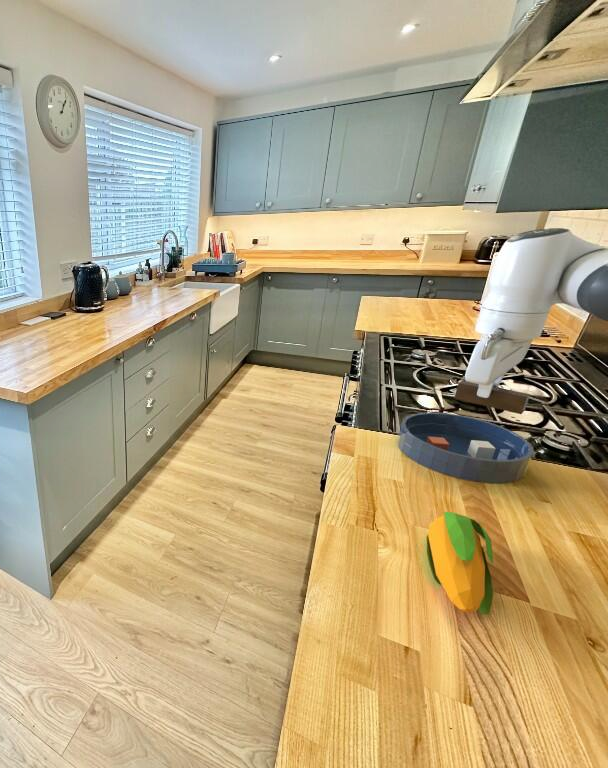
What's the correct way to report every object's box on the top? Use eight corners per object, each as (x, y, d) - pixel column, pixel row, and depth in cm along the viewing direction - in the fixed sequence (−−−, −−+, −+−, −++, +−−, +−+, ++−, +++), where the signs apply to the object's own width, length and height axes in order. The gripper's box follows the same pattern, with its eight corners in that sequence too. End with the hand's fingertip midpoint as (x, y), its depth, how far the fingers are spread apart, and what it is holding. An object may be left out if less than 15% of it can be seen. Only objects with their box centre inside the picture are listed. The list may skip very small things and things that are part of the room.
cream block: (484, 453, 90) (488, 441, 89) (491, 460, 88) (495, 448, 87) (467, 451, 91) (471, 439, 90) (474, 459, 89) (478, 446, 87)
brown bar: (524, 411, 78) (530, 394, 76) (521, 414, 76) (527, 397, 75) (457, 395, 85) (462, 380, 84) (454, 398, 84) (458, 382, 83)
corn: (489, 505, 65) (519, 599, 49) (479, 544, 67) (505, 646, 52) (429, 493, 69) (439, 577, 53) (422, 531, 71) (429, 621, 56)
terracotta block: (440, 449, 93) (443, 437, 92) (446, 456, 90) (449, 444, 89) (424, 447, 94) (427, 436, 92) (429, 454, 91) (433, 442, 90)
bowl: (489, 437, 97) (496, 416, 95) (551, 492, 78) (561, 467, 76) (384, 429, 103) (388, 409, 101) (417, 477, 85) (424, 454, 82)
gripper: (514, 338, 68) (489, 414, 73) (548, 317, 78) (524, 385, 83) (465, 331, 73) (445, 403, 78) (503, 312, 83) (483, 376, 88)
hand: (486, 393), depth 81 cm, fingers closed on brown bar, 2 cm apart
